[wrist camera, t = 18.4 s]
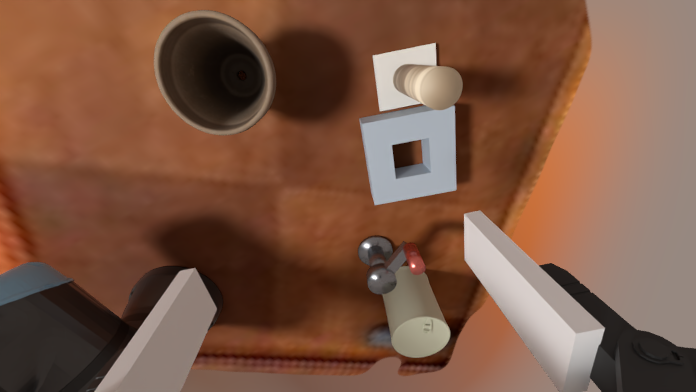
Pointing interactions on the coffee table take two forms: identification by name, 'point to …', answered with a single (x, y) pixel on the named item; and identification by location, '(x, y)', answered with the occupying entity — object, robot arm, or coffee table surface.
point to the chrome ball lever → (394, 268)
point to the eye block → (407, 127)
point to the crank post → (375, 250)
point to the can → (415, 316)
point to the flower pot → (214, 72)
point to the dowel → (429, 84)
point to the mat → (386, 69)
